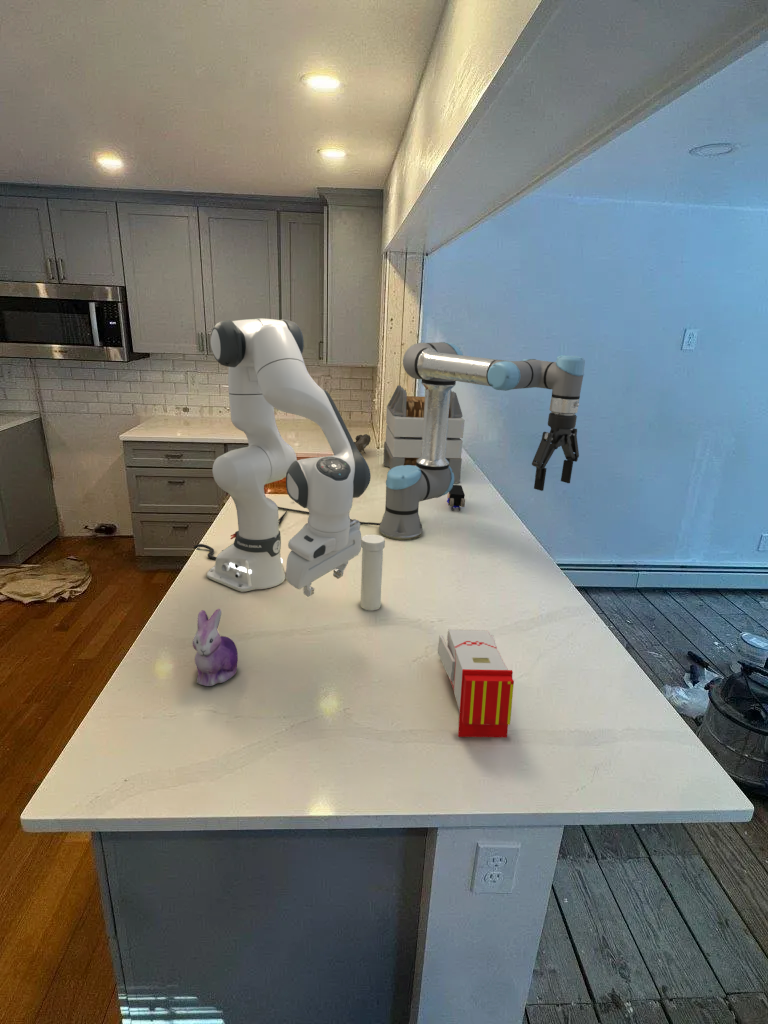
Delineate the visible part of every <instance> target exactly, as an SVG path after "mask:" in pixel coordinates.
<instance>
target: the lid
mask: <svg viewBox="0 0 768 1024" xmlns="http://www.w3.org/2000/svg"><path fill="white" fill-rule="evenodd" d="M385 545H386V540H385V537H384V536H383V535H381V534H375V533H374V534H371V533H370V534H365V535H363V536H361V549H362V548H363V549H364V550H367V551H380V550H382V549H383V550H384V548H385V547H386V546H385Z"/></svg>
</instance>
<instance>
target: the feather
mask: <svg viewBox="0 0 768 1024" xmlns="http://www.w3.org/2000/svg"><path fill="white" fill-rule="evenodd" d="M287 512H288V511H287V510H285V512H284V513H283V514H282V515H281V517H280V518H279V526H280V525H281V524H282V522H283V519H284V518H285V516H286V514H287Z"/></svg>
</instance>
